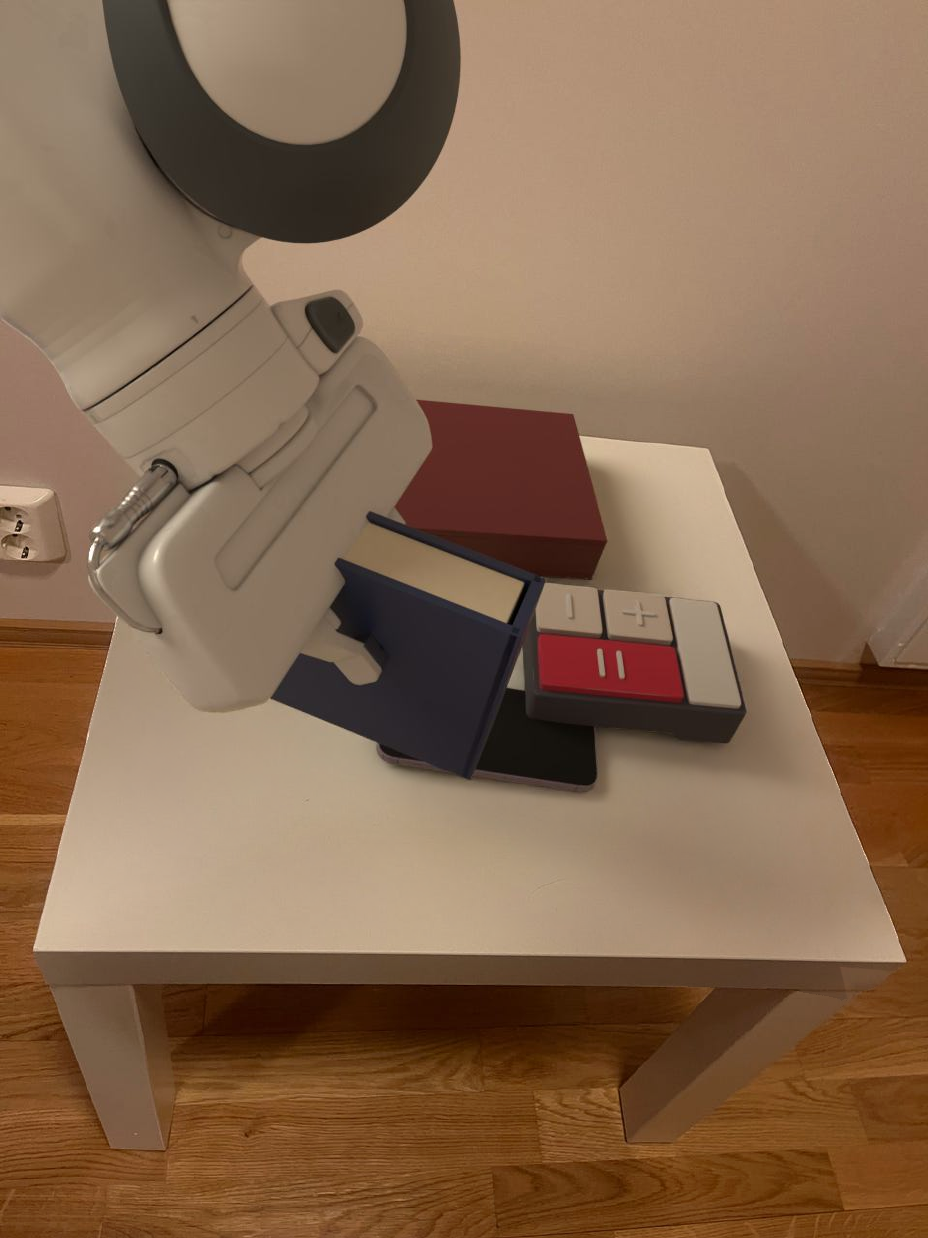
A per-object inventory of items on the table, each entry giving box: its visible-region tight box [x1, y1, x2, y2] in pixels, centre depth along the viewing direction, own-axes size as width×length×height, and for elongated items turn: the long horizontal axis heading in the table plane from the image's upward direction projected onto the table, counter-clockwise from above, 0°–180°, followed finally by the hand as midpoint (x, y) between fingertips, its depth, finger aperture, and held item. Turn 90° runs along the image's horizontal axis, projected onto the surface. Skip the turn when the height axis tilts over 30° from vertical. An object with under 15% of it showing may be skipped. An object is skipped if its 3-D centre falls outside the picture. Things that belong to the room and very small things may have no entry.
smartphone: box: [375, 687, 599, 793], centre depth 62 cm, size 7×1×15 cm
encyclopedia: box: [395, 399, 608, 580], centre depth 76 cm, size 22×16×4 cm
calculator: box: [522, 582, 748, 744], centre depth 66 cm, size 11×4×15 cm
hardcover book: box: [269, 511, 547, 781], centre depth 46 cm, size 4×13×12 cm, turn 70°
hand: (395, 634), depth 45 cm, fingers closed on hardcover book, 4 cm apart
